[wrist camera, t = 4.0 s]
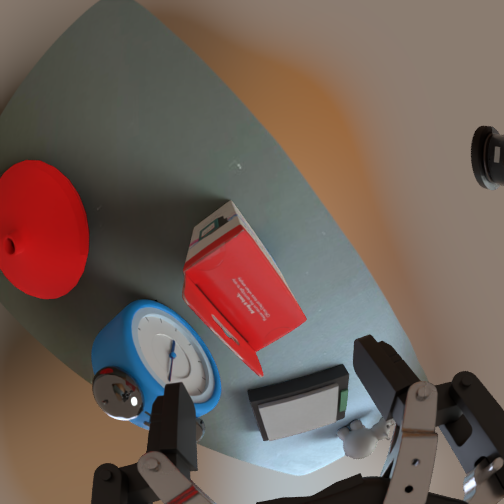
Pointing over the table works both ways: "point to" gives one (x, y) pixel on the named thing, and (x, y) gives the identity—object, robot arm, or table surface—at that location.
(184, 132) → the table surface
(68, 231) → the flat cone with hole
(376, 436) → the round bodied animal figurine
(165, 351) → the alarm clock
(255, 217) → the table surface
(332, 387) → the scale
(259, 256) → the ink box
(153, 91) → the table surface
